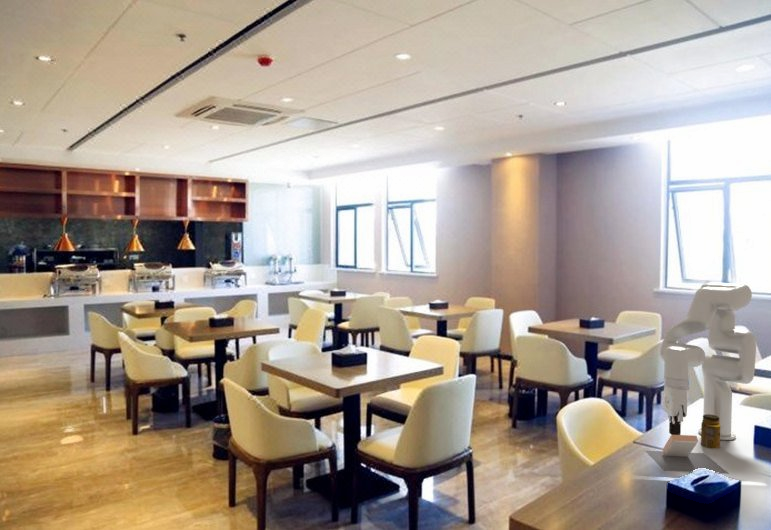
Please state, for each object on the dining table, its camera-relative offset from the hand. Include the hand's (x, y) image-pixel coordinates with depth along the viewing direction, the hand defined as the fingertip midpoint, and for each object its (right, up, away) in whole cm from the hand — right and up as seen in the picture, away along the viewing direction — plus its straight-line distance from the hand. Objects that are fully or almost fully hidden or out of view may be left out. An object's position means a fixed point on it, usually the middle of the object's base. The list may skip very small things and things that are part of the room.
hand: (674, 434), depth 196 cm
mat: (0, -8, -6) cm, 10 cm away
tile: (0, -7, 0) cm, 7 cm away
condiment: (+17, -8, +9) cm, 21 cm away
